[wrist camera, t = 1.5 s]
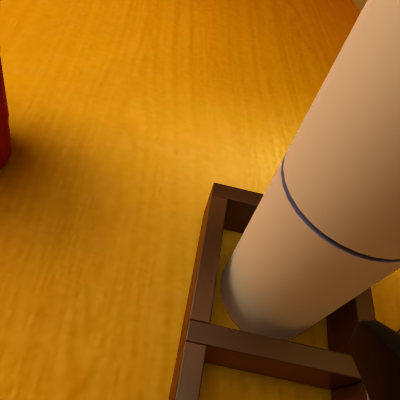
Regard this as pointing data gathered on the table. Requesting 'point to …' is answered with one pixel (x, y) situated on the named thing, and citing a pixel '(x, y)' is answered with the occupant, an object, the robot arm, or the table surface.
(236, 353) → the rectangular frame
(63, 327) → the table surface
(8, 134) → the plastic cup
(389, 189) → the cylindrical container
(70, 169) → the table surface
